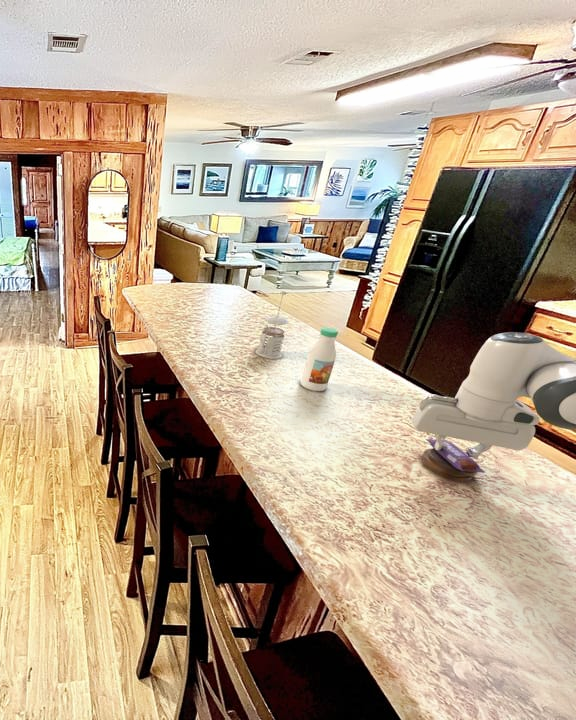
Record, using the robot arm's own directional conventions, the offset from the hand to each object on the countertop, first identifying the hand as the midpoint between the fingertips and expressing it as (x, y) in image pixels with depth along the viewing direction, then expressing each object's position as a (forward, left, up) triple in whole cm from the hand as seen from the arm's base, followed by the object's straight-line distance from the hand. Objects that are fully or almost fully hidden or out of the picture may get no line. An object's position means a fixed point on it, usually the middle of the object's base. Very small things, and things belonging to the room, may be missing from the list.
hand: (455, 452), depth 91 cm
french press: (+40, -53, -5) cm, 67 cm away
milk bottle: (+26, -32, -5) cm, 42 cm away
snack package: (0, 0, -2) cm, 2 cm away
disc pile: (0, 0, -5) cm, 5 cm away
